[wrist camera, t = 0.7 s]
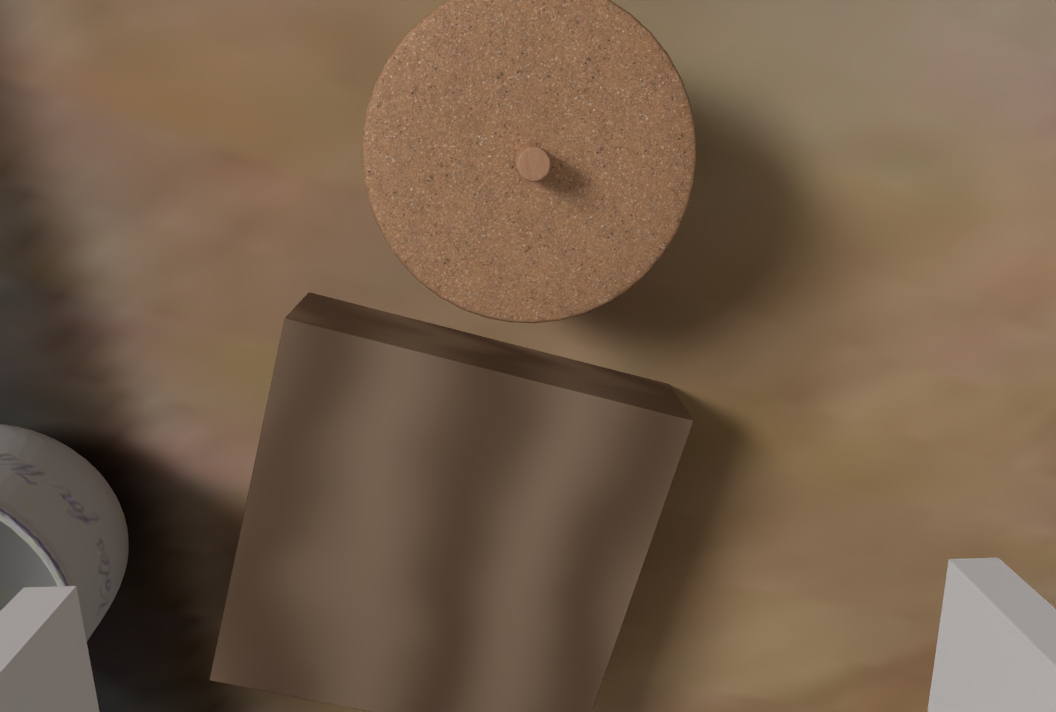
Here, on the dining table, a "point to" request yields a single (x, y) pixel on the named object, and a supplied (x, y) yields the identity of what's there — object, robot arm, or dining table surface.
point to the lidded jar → (529, 155)
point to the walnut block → (441, 518)
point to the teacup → (58, 524)
